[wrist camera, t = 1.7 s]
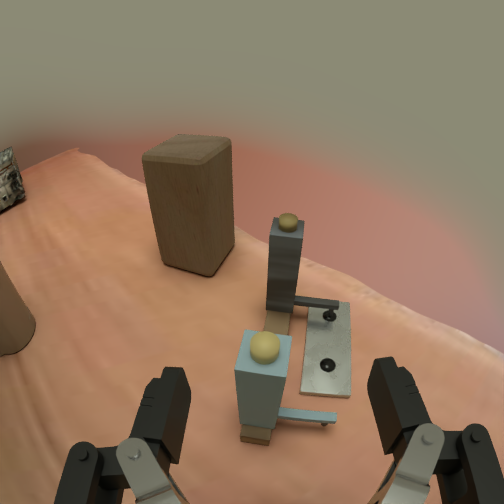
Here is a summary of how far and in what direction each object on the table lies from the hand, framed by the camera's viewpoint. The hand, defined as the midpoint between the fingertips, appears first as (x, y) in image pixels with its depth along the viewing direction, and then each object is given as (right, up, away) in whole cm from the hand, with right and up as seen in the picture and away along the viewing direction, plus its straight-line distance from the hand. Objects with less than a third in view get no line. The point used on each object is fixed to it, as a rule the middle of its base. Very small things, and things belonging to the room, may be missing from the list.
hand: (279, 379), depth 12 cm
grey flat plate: (+9, -7, +25) cm, 28 cm away
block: (-10, +5, +40) cm, 42 cm away
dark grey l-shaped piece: (+4, -9, +23) cm, 25 cm away
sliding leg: (+3, -13, +16) cm, 21 cm away
